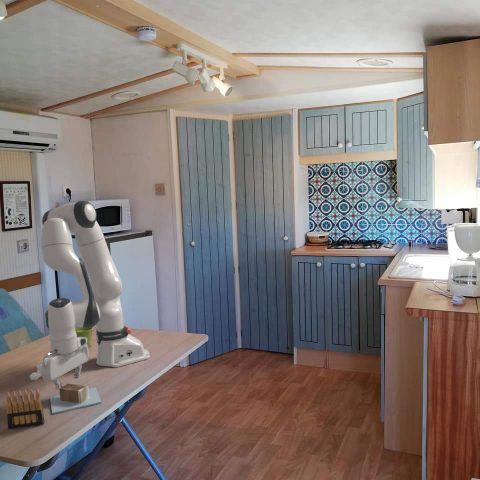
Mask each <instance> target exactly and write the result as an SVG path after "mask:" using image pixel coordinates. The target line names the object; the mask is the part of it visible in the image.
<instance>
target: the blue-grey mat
mask: <svg viewBox="0 0 480 480" xmlns="http://www.w3.org/2000/svg"><path fill="white" fill-rule="evenodd" d="M89 397H90V398H89V399H87V400H86V401H84V402H83V403H75V402H67V401H61V400H60V394H58V395H53V396H50V397H49V399H50V400H49V401H50V407H51V415H56V414H57V415H58V414H61V413H66V412H69V411H73V410H78V409H83V408H88V407H91V406H97V405H100V404H101V405H102V400H101V397H100V394H99V392H98V390H97V387H96V386H95V387H91V388H89Z"/></svg>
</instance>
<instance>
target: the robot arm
mask: <svg viewBox="0 0 480 480" xmlns="http://www.w3.org/2000/svg"><path fill="white" fill-rule="evenodd" d="M41 223H42V225H41V226H42V227H41V243H40V244H41V254H42V260H43V262H44V264H45V265H46V266H47V267H48V268H50V269H52V270H55V271H57V272H60V273H65V274H69V275H71V276H74V277H75V278H76V279H77V280H78V284H79V287H80V290H81V291H80V292H81V294H82V300H81V301H73V302H72V300H71V299H70V298H67V297H59V298H55V299H52V300H51V301H49V303H48V307H47V308H48V309H47V310H46V311H45V315H44V316H45V326H46V328H47V329H48V330H49V331H50V337H49V341H50V349H51V351H50V352H47V353H46V354H45V355H44V357H43V359H42V363H41V364H42V376H41V377H42V380H43V381H46V382H53V384H54V387H55V389H56V390H59V389H61V388H62V387H63V383H62V382H60V381H59V380H60V378H61V377H62V376H63V375H65V374H67V373H69V372H70V371H72V370H74V369H75V371H74V372H73V378H74V379H75V380H76V379H80V377H81V371H82V369H83V368H82V367H83V366H82V365H83V364H85V363H87V362H88V361H89V358H90V354H89V353H90V352H89V347H88V346H87V344H86V343H87V338H85V337H77V334H76V331H75V328H91V327H93V328H94V327H95V326H96V332H95V333H96V334H95V335H96V336H95V337H96V342H97V356H96V357H97V358H96V362H95V363H96V364H97V365H98V366H101V367H112V368H119V367H123V366H126V365H130V364H134V363H139V362H142V361H145V360H148V359H150V352H149V350H148V349H146V348H144V344H143V343H142V341H141V340H140V339H139V338H137V337H135V336H133V335H131V334H132V329H130V328H129V327H127V326H126V325H125V324H124V315H123V307H122V304H121V303H122V302H121V297H120V295H121V294H122V292H123V287H124V286H123V282H122V279H121V277H120V275H119V272H118V269H117V267H116V265H115V262H114V260H113V258H112V255H111V253H110V250H109V248H108V243H107V241H106V239H105V235H104V233H103V231H102V228H101V226H100V225H99V223H98V221H97V210H96V208H95V206H94V205H93V204H92V203H91V202H89V201H86V200H78V201H76V202H69V203H65V204H63V205H60V206H58V207H55V208H51V209H49V210H47V211H45V212H44V214H43V215H42V219H41ZM72 233H74V237H75V238H74V239H75V241H76V245H77V247H78V249H79V253H80V255H81V257H79V256H78V255H77V254H76V252H75V250H74V244H73V243H74V242H73V238H72Z"/></svg>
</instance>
